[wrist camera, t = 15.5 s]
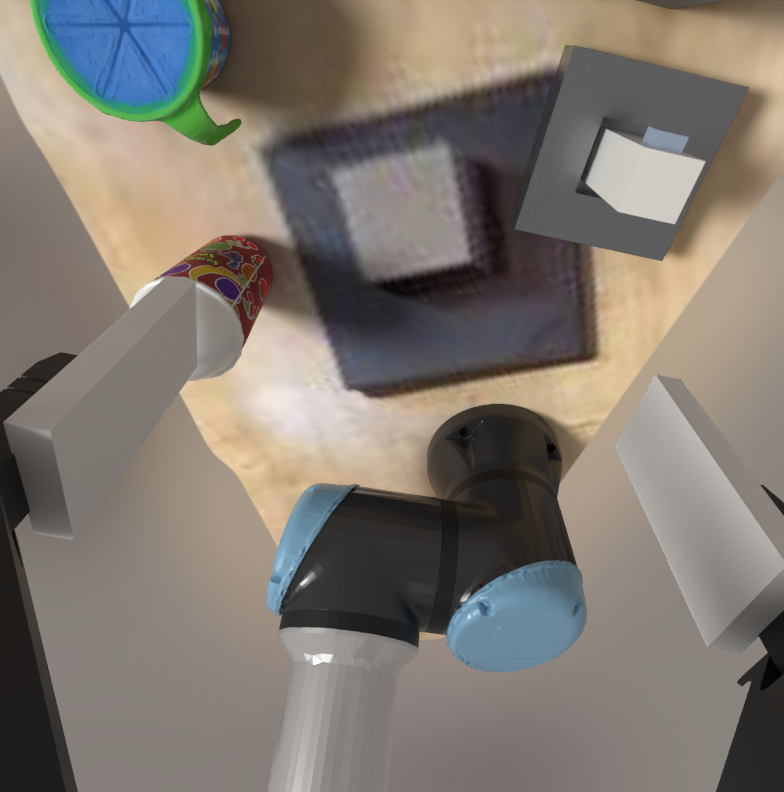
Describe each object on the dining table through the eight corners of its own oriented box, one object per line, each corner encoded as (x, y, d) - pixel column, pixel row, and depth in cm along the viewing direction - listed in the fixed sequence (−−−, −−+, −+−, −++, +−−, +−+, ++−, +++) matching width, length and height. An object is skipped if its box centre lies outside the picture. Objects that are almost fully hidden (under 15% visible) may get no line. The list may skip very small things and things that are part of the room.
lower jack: (649, 249, 47) (662, 261, 45) (509, 219, 46) (514, 229, 44) (729, 84, 40) (749, 87, 37) (565, 45, 39) (574, 45, 37)
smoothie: (239, 203, 47) (136, 290, 30) (302, 275, 50) (241, 389, 34) (179, 256, 50) (55, 362, 33) (242, 321, 54) (158, 446, 37)
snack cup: (57, -58, 38) (-50, -87, 29) (176, -143, 35) (96, -203, 26) (187, 160, 45) (131, 187, 37) (293, 104, 42) (259, 120, 34)
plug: (627, 190, 44) (674, 224, 35) (581, 179, 43) (617, 211, 35) (656, 123, 41) (714, 144, 33) (606, 112, 41) (652, 130, 32)
